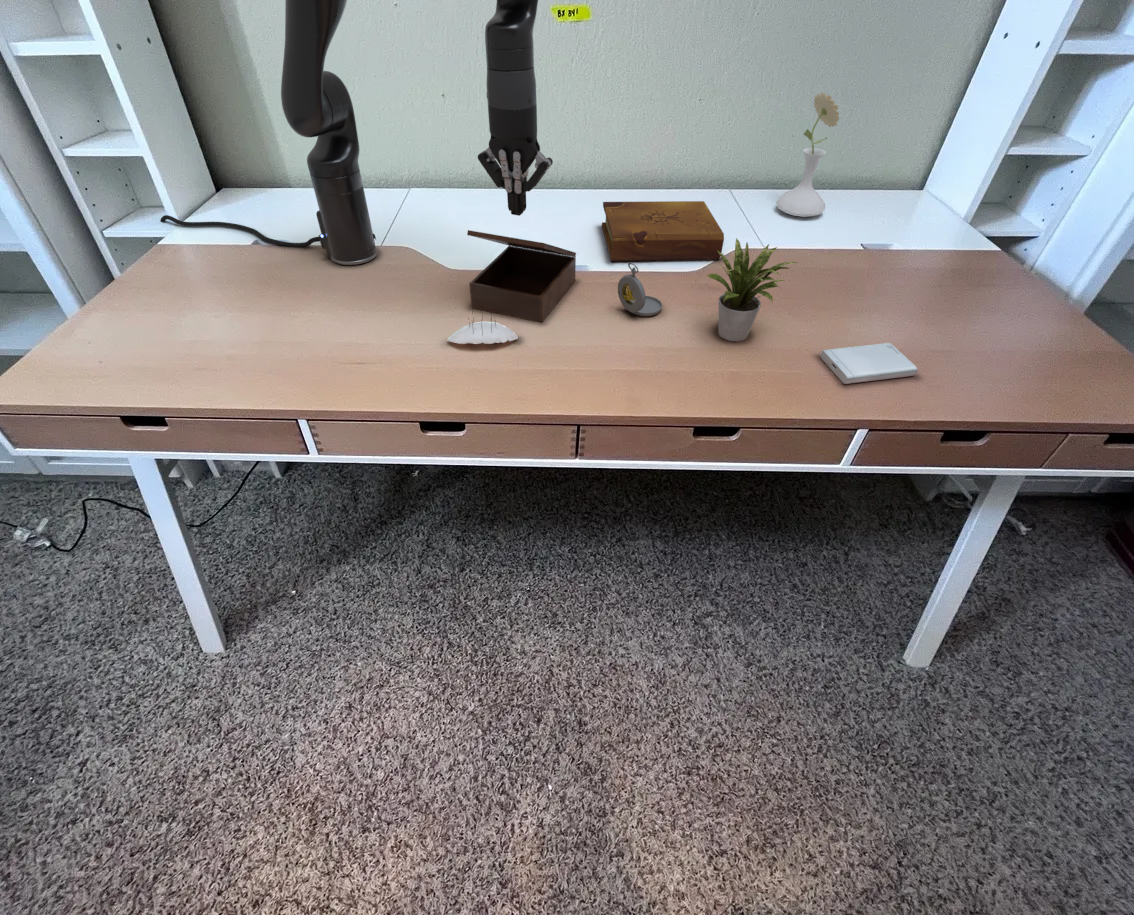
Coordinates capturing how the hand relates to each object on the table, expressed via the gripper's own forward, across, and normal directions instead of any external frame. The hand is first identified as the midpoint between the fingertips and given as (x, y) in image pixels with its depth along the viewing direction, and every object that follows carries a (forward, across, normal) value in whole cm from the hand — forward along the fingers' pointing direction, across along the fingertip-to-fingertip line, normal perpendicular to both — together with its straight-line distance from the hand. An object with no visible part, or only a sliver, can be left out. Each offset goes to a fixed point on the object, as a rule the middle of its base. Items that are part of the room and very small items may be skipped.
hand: (517, 213), depth 107 cm
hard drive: (+17, -62, 0) cm, 64 cm away
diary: (+16, -18, -34) cm, 42 cm away
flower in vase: (+16, -45, -65) cm, 81 cm away
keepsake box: (+16, 0, -2) cm, 16 cm away
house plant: (+16, -40, -1) cm, 43 cm away
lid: (+7, 0, -2) cm, 7 cm away
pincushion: (+16, 0, +16) cm, 23 cm away
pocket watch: (+16, -22, -4) cm, 28 cm away
